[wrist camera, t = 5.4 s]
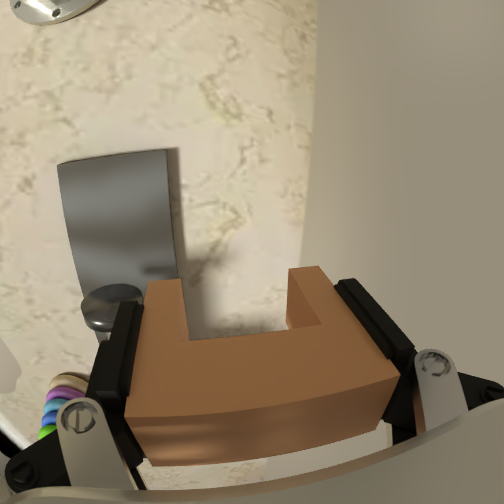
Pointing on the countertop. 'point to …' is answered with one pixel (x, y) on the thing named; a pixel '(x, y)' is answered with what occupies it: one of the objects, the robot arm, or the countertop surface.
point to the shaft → (107, 305)
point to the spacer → (255, 380)
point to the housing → (119, 220)
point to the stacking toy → (60, 399)
